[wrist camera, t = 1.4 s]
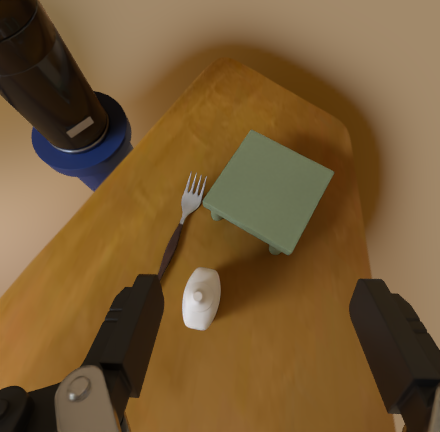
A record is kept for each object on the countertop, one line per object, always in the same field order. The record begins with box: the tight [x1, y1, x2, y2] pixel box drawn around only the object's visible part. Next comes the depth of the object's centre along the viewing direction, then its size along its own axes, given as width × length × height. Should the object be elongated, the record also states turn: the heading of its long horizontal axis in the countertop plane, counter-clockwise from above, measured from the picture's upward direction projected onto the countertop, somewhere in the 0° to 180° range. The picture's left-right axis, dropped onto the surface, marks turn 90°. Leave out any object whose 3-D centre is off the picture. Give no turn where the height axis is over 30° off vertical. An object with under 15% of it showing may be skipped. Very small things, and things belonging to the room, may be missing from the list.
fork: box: [158, 171, 207, 280], centre depth 33 cm, size 3×16×2 cm, turn 161°
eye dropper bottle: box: [182, 267, 221, 330], centre depth 26 cm, size 4×6×12 cm
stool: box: [202, 130, 334, 255], centre depth 32 cm, size 11×11×6 cm
